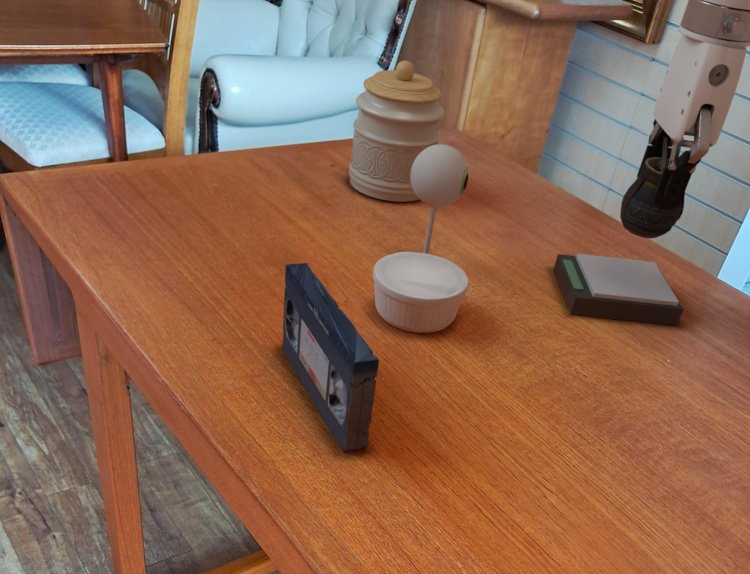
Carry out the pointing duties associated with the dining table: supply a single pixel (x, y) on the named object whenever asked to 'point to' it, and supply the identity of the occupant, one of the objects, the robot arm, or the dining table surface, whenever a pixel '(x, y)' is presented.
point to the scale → (616, 289)
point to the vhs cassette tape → (329, 357)
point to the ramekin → (418, 291)
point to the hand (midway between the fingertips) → (657, 190)
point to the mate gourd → (649, 201)
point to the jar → (393, 131)
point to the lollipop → (438, 179)
